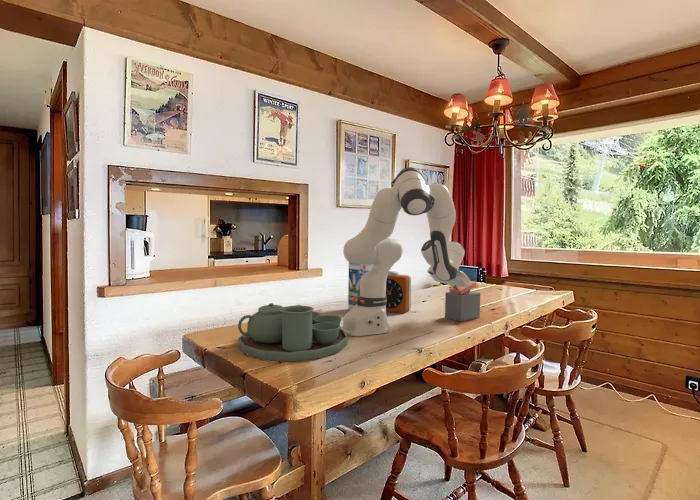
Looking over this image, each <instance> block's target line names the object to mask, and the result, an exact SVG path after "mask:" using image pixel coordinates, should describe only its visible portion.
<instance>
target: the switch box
mask: <svg viewBox="0 0 700 500" xmlns="http://www.w3.org/2000/svg"><path fill="white" fill-rule="evenodd" d="M444 298H445V299H444V300H445V304H444V306H445V307H444V318H446V317H447V319H452V320H455V321H459V322H465V321H469V320H471V321H472V320H475V319H479V318H481V317H480V316H481V293H480V292H476V291H472V290H470V292H469V293H463V294H456V293H451V292H450V291H448V292H445V297H444Z"/></svg>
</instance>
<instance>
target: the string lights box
mask: <svg viewBox="0 0 700 500" xmlns="http://www.w3.org/2000/svg"><path fill="white" fill-rule="evenodd" d="M372 266H373V264H356V263H351V262H348V291H347V292H348V295H347V296H348V298H347V302H348V303H347V304H348V305H347V309H348V310H349V311H350V310H351V309H352V308H353V307H354V306H356V305H357V304H356V303H357V302H353V301H352V297H356V298H358V297H359V295H360V279H361V277H362V276H363V274H365V273H367V272H368V271H370V270H371V268H372Z"/></svg>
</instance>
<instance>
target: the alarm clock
mask: <svg viewBox="0 0 700 500" xmlns="http://www.w3.org/2000/svg"><path fill="white" fill-rule="evenodd" d="M386 296H387V304H386V312H390V313H397V314H398V313H400V314H405V313H406V312H409V311H411V309H412V277H411V275H409V274H400V273H399V272H397V271H395V270H390V271H389V273H388V276H387V280H386Z"/></svg>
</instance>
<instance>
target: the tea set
mask: <svg viewBox="0 0 700 500" xmlns="http://www.w3.org/2000/svg"><path fill="white" fill-rule="evenodd" d="M314 310H315V308H314V307H312V306H309V305H301V304H297V305H287V306H282V305H279V304H274V303H272V302H270V303H268V304H266V305H262V306H260V307H258V309H257V312H255V313H253V314H247V315H246V314H245V315H244V316H242V317H241V318H240V319H239V321H238V322H237V328H238V332H239V333H241V335H240V336H239V337H238V344H239V346H240V348H241V350H242V353H243V354H244V353H245V354H244V355H247V354H248V355H247V356H250V357H253V358H257V359H259V360H263V361H273V360H274V361H278V362H300V361H310V360H311V361H312V360H318V359H322V358H325V357H328V356H331V355H334V354H335V355H336V354H338V353H339V352H340V351H342V350H343V348H345V347H346V346H347V344H348V338H349V337H348V335H346V334H345V332H344V330H342V329H340V328H341V326H342V325H341V321H343V319H342V318H341V317H340V316H337V315H329V314H328V315H322V314H321V313H320V312H318V311H314ZM246 319H248V321H247V327H246V328H247V329H246V331H245V332H244V331H243V329H242V323H243V321H245V320H246Z"/></svg>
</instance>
